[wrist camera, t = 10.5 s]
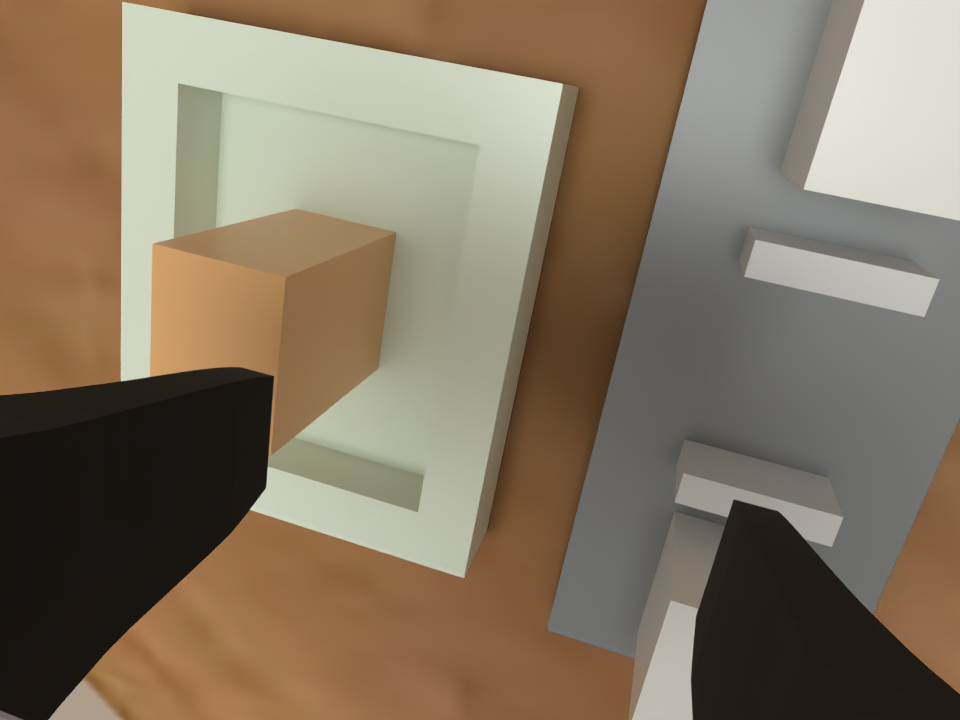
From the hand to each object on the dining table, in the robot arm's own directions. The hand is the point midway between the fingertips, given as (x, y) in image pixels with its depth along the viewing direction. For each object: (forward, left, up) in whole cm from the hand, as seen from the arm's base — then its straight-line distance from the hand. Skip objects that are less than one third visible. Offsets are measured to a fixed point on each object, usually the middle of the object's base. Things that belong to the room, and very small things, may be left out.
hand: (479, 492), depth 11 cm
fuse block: (0, -5, -10) cm, 11 cm away
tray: (-1, +7, -10) cm, 12 cm away
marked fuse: (0, +7, -9) cm, 11 cm away
